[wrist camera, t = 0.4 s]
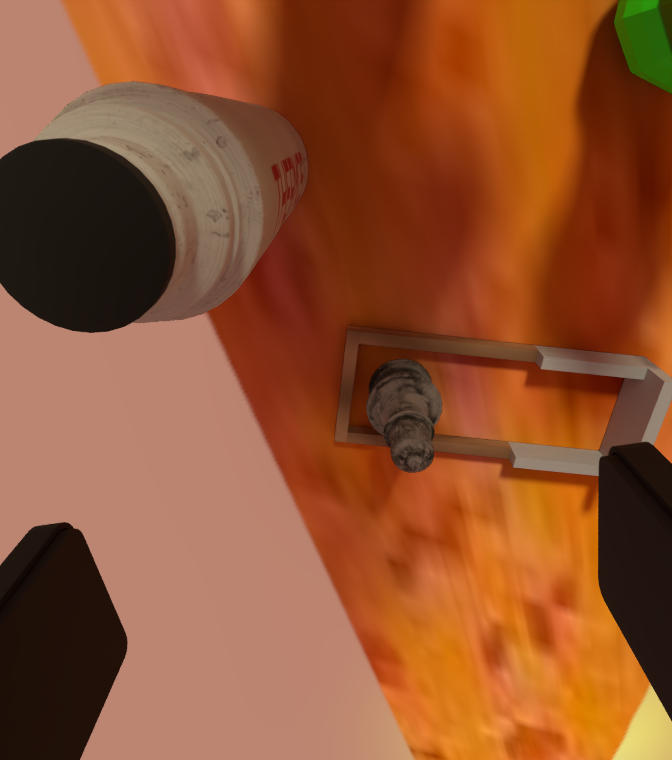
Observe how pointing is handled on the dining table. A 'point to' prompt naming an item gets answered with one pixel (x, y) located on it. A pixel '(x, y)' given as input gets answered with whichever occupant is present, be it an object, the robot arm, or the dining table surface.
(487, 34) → the dining table surface
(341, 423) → the channel
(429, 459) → the dark grey chess piece
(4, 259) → the thermos bottle
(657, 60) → the plastic bottle
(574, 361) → the socket
